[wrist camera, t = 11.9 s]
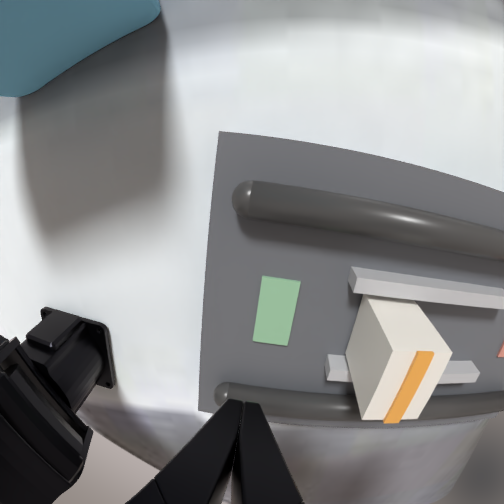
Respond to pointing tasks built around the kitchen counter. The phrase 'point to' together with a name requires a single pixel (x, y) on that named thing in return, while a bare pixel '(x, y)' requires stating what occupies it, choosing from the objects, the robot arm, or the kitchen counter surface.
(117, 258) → the kitchen counter surface
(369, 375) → the knob
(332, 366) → the panel
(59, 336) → the robot arm
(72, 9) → the data package
